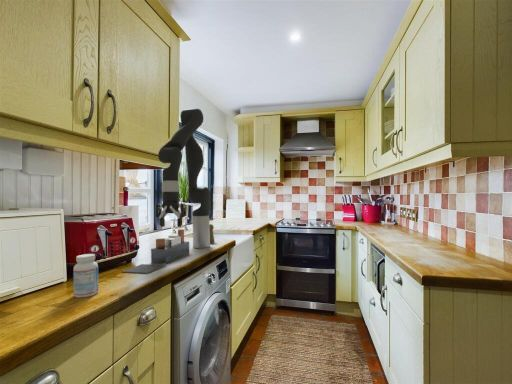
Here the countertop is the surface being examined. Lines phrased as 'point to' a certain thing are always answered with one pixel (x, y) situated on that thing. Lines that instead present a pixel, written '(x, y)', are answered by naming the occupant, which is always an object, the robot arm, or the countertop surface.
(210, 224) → the cork
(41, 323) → the countertop surface
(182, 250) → the bench plane
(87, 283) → the pill bottle
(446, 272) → the countertop surface
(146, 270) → the rubber mat
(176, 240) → the lever cap
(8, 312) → the countertop surface
